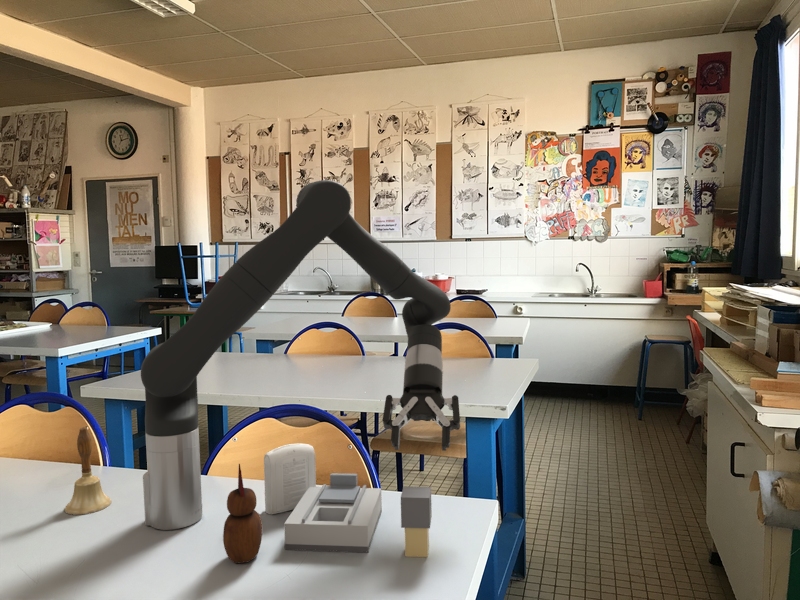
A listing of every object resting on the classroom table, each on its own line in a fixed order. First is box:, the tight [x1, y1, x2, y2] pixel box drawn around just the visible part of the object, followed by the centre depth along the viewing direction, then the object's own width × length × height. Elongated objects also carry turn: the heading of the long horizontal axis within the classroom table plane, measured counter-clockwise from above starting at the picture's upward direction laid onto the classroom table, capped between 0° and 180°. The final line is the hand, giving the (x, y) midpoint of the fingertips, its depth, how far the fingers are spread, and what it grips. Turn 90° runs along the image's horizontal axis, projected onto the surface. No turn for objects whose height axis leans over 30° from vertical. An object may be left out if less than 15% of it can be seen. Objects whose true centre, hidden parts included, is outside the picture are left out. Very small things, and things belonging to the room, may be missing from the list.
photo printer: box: [263, 442, 317, 515], centre depth 117 cm, size 10×4×12 cm, turn 123°
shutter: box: [319, 472, 361, 503], centre depth 111 cm, size 6×7×3 cm
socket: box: [283, 483, 383, 554], centre depth 107 cm, size 14×16×5 cm
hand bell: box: [64, 426, 112, 516], centre depth 119 cm, size 8×8×16 cm
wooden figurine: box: [222, 463, 263, 564], centre depth 97 cm, size 7×6×15 cm
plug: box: [400, 485, 432, 558], centre depth 98 cm, size 5×5×10 cm
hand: (420, 448), depth 108 cm, fingers open, 8 cm apart
